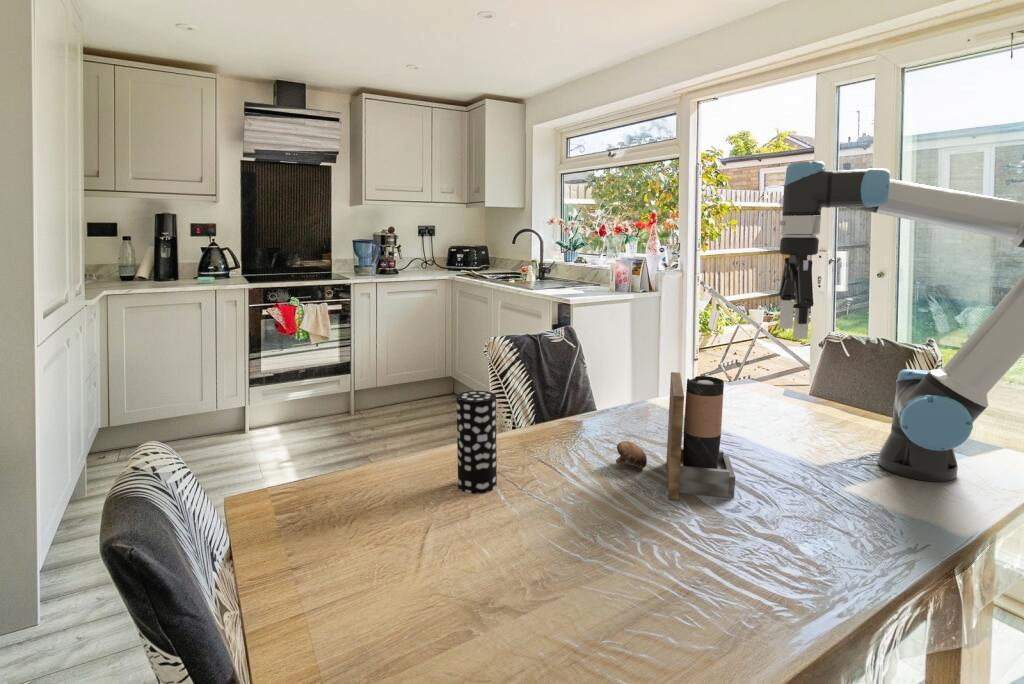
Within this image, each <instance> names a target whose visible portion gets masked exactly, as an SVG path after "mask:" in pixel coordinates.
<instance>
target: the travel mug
mask: <svg viewBox="0 0 1024 684" xmlns="http://www.w3.org/2000/svg"><path fill="white" fill-rule="evenodd" d="M685 388H686V391H685V402H684V417H683V441H682V442H683V443H682V444H683V445H682V447H683V466H688V467H700V468H712V469H717V468H718V459H719V450H720V447H721V437H722V435H721V434H722V422H723V408H724V407H723V406H724V404H723V403H724V388H725V383H724V380H723V379H721V378H718V377H715V376H714V377H713V376H706V375H705V376H704V375H697V376H695V377H694V378H692V379H689V378H687V380H686V387H685Z"/></svg>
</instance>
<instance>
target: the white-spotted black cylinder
mask: <svg viewBox="0 0 1024 684" xmlns="http://www.w3.org/2000/svg"><path fill="white" fill-rule="evenodd" d="M456 441H457V442H456V444H457V446H456V447H457V449H456V451H457V487H458V489H459V490H460V491H461V492H465V493H467V494H475V495H476V494H485V493H490V492H492V491H493V490H495V489H496V488H497V486H498V485H497V484H498V483H497V482H498V481H497V480H498V479H497V477H498V476H497V475H498V473H497V469H498V468H497V458H498V457H497V394H495V393H494V392H492V391H486V390H468V391H463V392H459V393H458V394H456Z"/></svg>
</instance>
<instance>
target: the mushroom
mask: <svg viewBox="0 0 1024 684" xmlns="http://www.w3.org/2000/svg"><path fill="white" fill-rule="evenodd" d="M616 450H617V453H618V454H619V455H620V456H618V457H617V458H616V459H615V463H616V465H617V466H618V467H619V468H621V469H626V468H627V467H628V466H630V465H631V466H635V467H636V468H639V469H645V467H646V466H647V464H648V463H647V462H648V458H647V455H646V454H647V453H646V452H644V450H643V449H642V448H641V447H640V446H638V445H637V444H636V443H635V442H632V441H630V440H622V441H620V442H619V443H618V444H617V445H616Z"/></svg>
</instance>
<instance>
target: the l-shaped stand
mask: <svg viewBox="0 0 1024 684" xmlns="http://www.w3.org/2000/svg"><path fill="white" fill-rule="evenodd" d="M682 381H683V380H682V377H681V372H674V371H673V372H672V371H671V372H670V387H669V405H668V424H667V441H666V444H667V445H666V462H665V463H666V480H667V481H666V482H667V499H668V500H671V501H679V499H680V494H686V495H687V494H689V495H699V496H700V495H701V496H710V497H711V496H712V497H723V498H733V499H735V491H736V490H735V488H736V475H735V471H734V468H733V465H732V463H731V460H730V455H729V454H725V452H724V450H720V449H719V459H718V468H717V469H712V468H700V467H688V466H683V445H682V444H683V443H682V442H683V441H682V438H683V428H684V409H685V393H684V388H683V382H682Z"/></svg>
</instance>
